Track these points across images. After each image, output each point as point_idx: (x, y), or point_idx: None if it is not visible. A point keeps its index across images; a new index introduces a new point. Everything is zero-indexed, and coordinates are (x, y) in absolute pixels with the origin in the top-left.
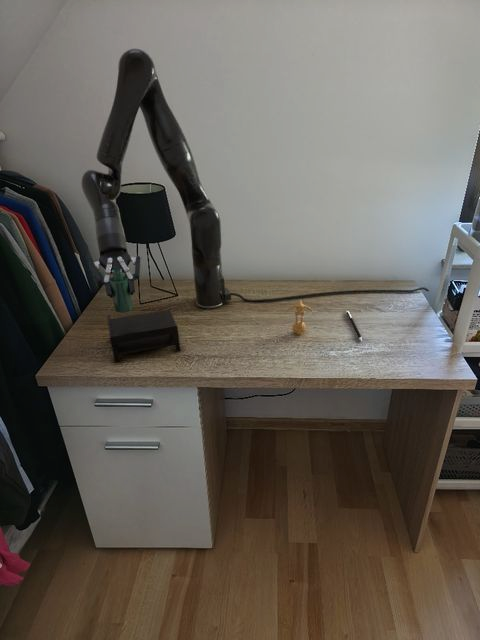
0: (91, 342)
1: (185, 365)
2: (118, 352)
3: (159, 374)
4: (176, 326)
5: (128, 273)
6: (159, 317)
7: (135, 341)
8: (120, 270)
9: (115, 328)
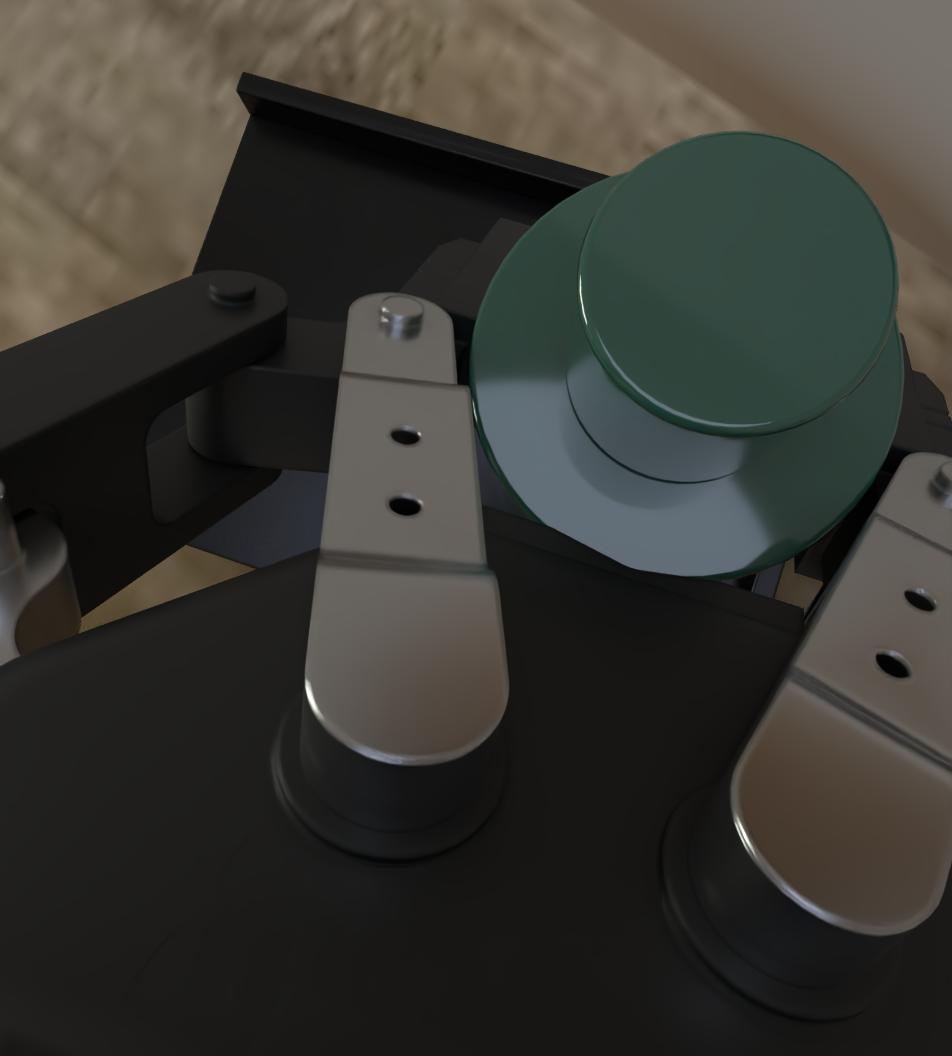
0: None
1: (384, 23)
2: None
3: (582, 26)
4: (252, 76)
5: (399, 374)
6: None
7: None
8: (650, 195)
9: None
